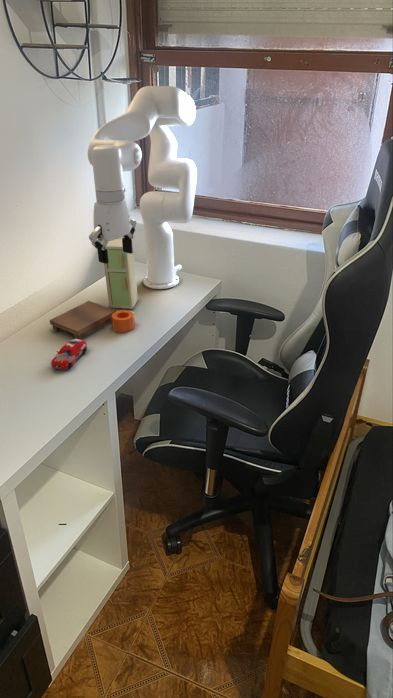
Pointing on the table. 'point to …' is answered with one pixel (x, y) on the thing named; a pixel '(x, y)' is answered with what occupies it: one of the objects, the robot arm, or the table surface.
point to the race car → (69, 354)
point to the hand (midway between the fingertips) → (116, 257)
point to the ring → (123, 321)
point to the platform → (83, 319)
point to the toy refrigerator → (120, 276)
